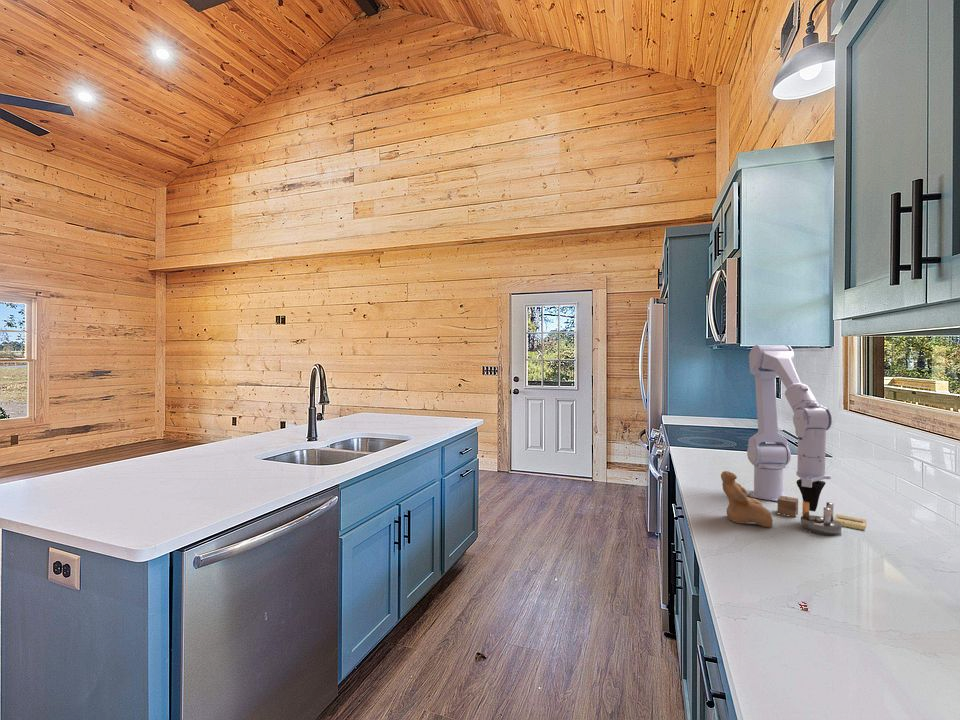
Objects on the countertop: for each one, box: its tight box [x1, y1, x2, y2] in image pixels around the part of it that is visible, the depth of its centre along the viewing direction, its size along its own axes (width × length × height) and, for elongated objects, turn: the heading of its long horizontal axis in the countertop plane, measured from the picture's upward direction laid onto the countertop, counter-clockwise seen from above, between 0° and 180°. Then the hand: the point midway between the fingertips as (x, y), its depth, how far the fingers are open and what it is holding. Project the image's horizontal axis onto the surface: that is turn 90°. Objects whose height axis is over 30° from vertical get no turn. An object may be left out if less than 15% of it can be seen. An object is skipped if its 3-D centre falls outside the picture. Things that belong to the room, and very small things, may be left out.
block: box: [776, 496, 799, 518], centre depth 129 cm, size 4×4×4 cm
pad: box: [833, 514, 867, 531], centre depth 121 cm, size 6×6×1 cm
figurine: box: [720, 470, 774, 528], centre depth 123 cm, size 11×9×15 cm
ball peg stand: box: [800, 500, 842, 537], centre depth 117 cm, size 8×8×6 cm
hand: (810, 510), depth 122 cm, fingers closed
